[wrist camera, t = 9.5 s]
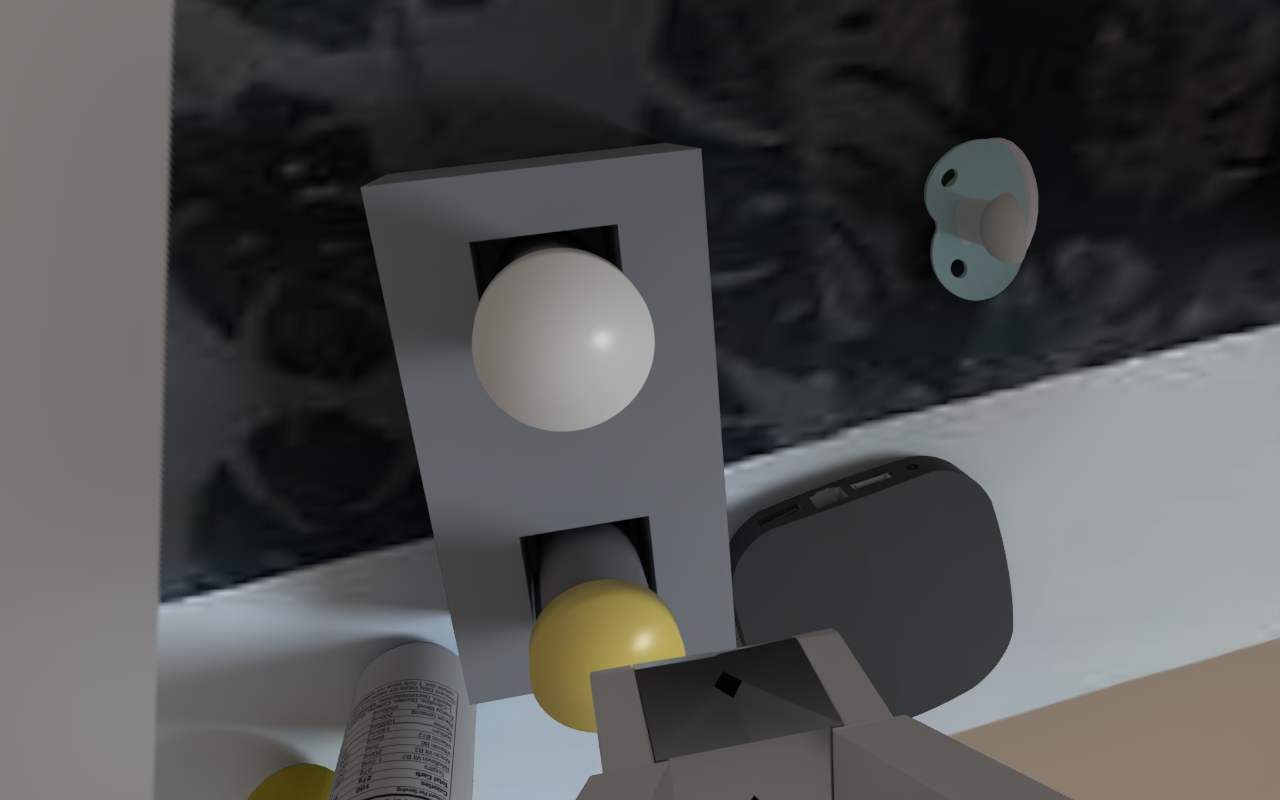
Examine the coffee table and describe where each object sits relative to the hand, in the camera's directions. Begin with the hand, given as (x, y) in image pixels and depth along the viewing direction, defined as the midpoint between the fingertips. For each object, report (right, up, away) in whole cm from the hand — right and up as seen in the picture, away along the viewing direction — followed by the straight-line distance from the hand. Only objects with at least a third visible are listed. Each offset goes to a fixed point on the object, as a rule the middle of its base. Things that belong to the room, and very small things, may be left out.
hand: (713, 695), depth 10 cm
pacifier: (+15, +13, +30) cm, 36 cm away
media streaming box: (+11, -7, +36) cm, 39 cm away
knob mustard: (-4, -2, +30) cm, 30 cm away
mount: (-5, +4, +29) cm, 30 cm away
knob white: (-5, +9, +26) cm, 28 cm away
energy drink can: (-13, -11, +33) cm, 37 cm away
